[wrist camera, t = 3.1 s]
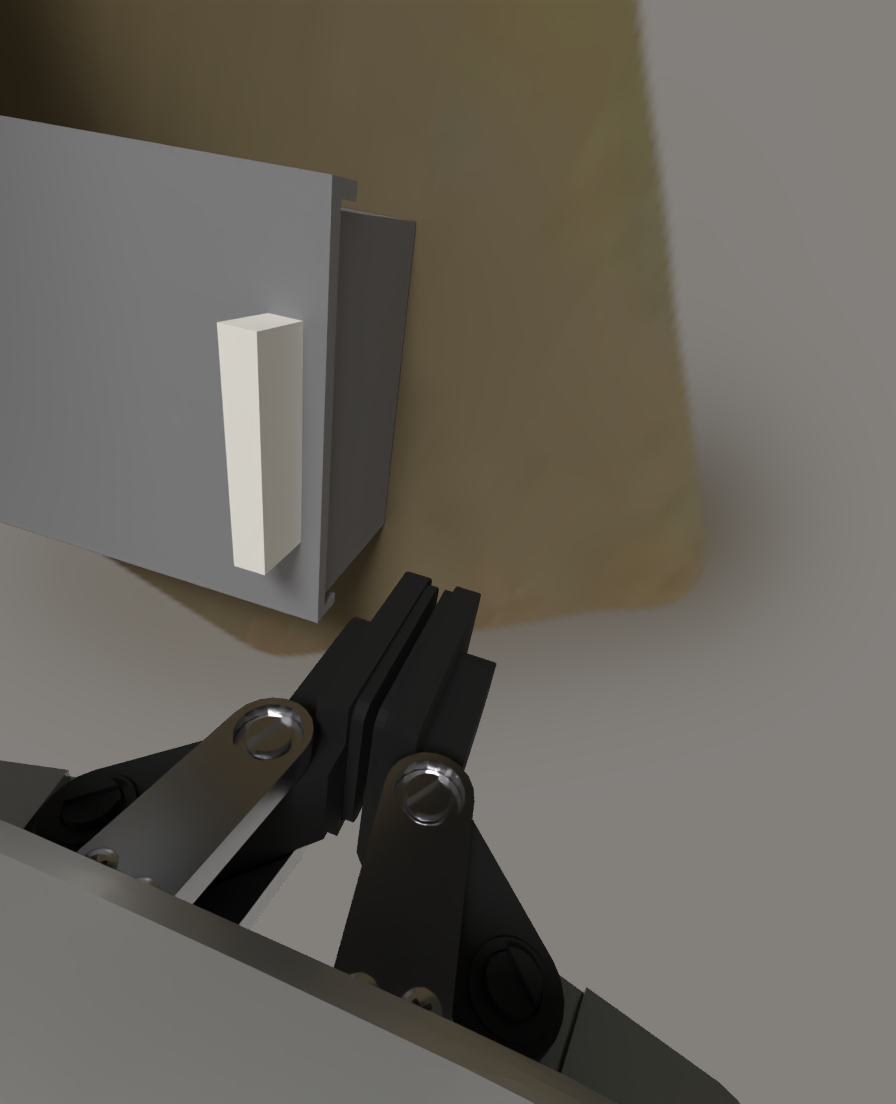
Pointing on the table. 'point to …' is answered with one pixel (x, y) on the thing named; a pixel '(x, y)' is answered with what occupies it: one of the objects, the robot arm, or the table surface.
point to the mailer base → (365, 377)
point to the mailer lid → (170, 358)
